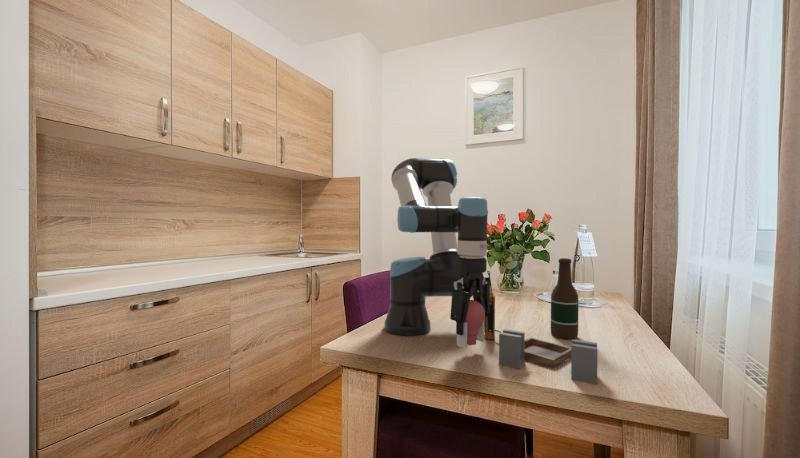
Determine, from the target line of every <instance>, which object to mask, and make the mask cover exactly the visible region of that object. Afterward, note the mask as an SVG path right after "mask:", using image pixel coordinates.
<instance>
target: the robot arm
mask: <svg viewBox="0 0 800 458" xmlns="http://www.w3.org/2000/svg"><path fill="white" fill-rule="evenodd" d="M391 183H392V187H393V188H394V189H395V190H396V191H397V194H398V195H397V196H398V199H399V203H400V206H399V207H398V210H397V218H396V219H397V227H398V230H399V231H400V232H401V233H402V232H404V233H410V234H411V233H412V234H414V233H430V234H431V236H430V237H431V245H432V254H431V255H430V256H429V260H427V259H426V257H425V256H411V257H404V258H399V259H395V260H394V261H392V262H391V264H390V270H389V279H390V280H389V284H390V285H389V306H388V307H389V308H388V310H387V314H386V318H385V320H384V331H386V332H387V333H390V334H393V335H399V336H420V335H424V334H427V333H429V332H430V331H431V325H432V323H431V320H430V319H429V315H428V314H429V313H428V310H427V307H426V298H427V297H451V302H450V303H451V306H450V320H451V321H455V326H456V328H455V329H456V330H455V333H456V346H457V347H459V348H462V349H467V348H468V345H467V322H465V320H466V315H467V311H468V306H469V302H470V300H471V298H472V300H475V301H477V302H479V303H480V304H481V305H482V306H483V308H484V311H485V317H488V316H489V314H488V313H490V292H489V284H490V280H491V276H490V277H489V276H485V275H484V273H486V272H487V271H488V269H487V266H488V265H487V263H488V262H487V260H488V259H487V258H486V255H487V249H488V247H487V246H488V245H487V244H488V243H487V240H488V214H489V211H488V200H487V199H486V198H484V197H471V196H470V197H469V196H468V197H462V198H461V197H460V198H459V199H458V203H457V206H452V199H451V198H452V197H451V195H452V193H453V192H454V189H455V188H456V186H457V185H458V184H457V183H458V172H457V168H456V165H455V163H454V162H453V161H452V160H451V159H445V158H422V157H421V158H419V157H418V158H417V157H413V158H407V159H405V160H403V161H401V162H400V163H398V164H397V165H396V166H395V168H393V171H392V173H391ZM421 190H422V191H421ZM424 196H425V197H426V198H427V203H426V200H425V198H424ZM456 233H457V234H456ZM485 307H486V308H485ZM461 317H462V318H461ZM484 326H485V318H484V321H483V323H482V325H481V327H480V328H479V333H478V335H477V340H476V341H478V342H482V343H483V342H485V332H484Z"/></svg>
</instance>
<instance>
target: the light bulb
mask: <svg viewBox="0 0 800 458" xmlns="http://www.w3.org/2000/svg"><path fill="white" fill-rule="evenodd" d="M461 318H462V317H461ZM484 318H485V311H484V308H483V306H482V305H481V304H480V303H479V302H477V301H475V300H474V299H470V302H469V306H468V311H467V315H466V320H465V322H467V346H475V345H477V341H478V340H477V335H478V333H479V328H480V327H481V325H482V323H483V321H484Z"/></svg>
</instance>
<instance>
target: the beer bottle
mask: <svg viewBox="0 0 800 458" xmlns="http://www.w3.org/2000/svg"><path fill="white" fill-rule="evenodd" d="M558 263H559V264H558V276H557V277H558V278H557V282H556V285H555V286H554V288H553V289H552V292H551V295H550V335H551V336H553V337H554V338H557V339H561V340H565V341H566V340H572V339H573V340H577V338H578V336H579V302H580V301H579V294H578V292H577V290H576V288H575V287H574V285H573V281H572V268H571V264H572V259H570V258H567V257H565V258H564V257H563V258H559V259H558Z"/></svg>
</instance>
